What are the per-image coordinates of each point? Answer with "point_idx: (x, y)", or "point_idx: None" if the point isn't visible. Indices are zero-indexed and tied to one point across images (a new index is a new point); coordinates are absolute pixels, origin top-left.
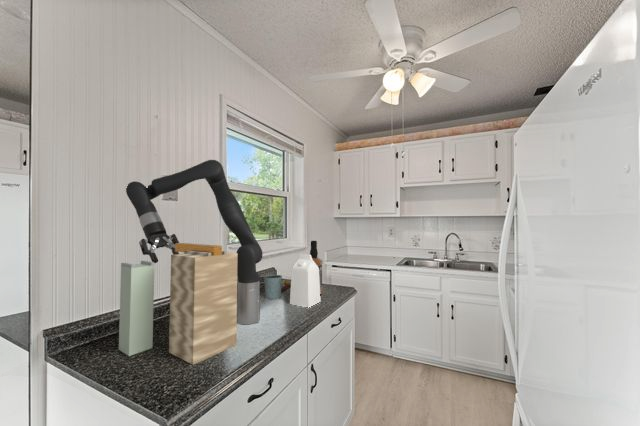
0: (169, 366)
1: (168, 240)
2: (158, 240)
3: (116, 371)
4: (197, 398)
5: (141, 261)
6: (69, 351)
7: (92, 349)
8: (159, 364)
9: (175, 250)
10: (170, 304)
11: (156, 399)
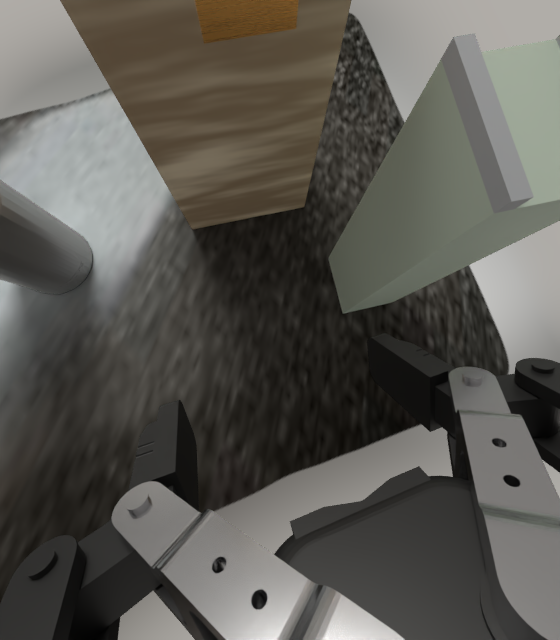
0: (318, 145)
1: (238, 614)
2: (501, 532)
3: None
4: None
5: (526, 184)
6: None
7: (441, 348)
8: (332, 166)
9: (294, 4)
10: (323, 117)
11: (358, 59)
